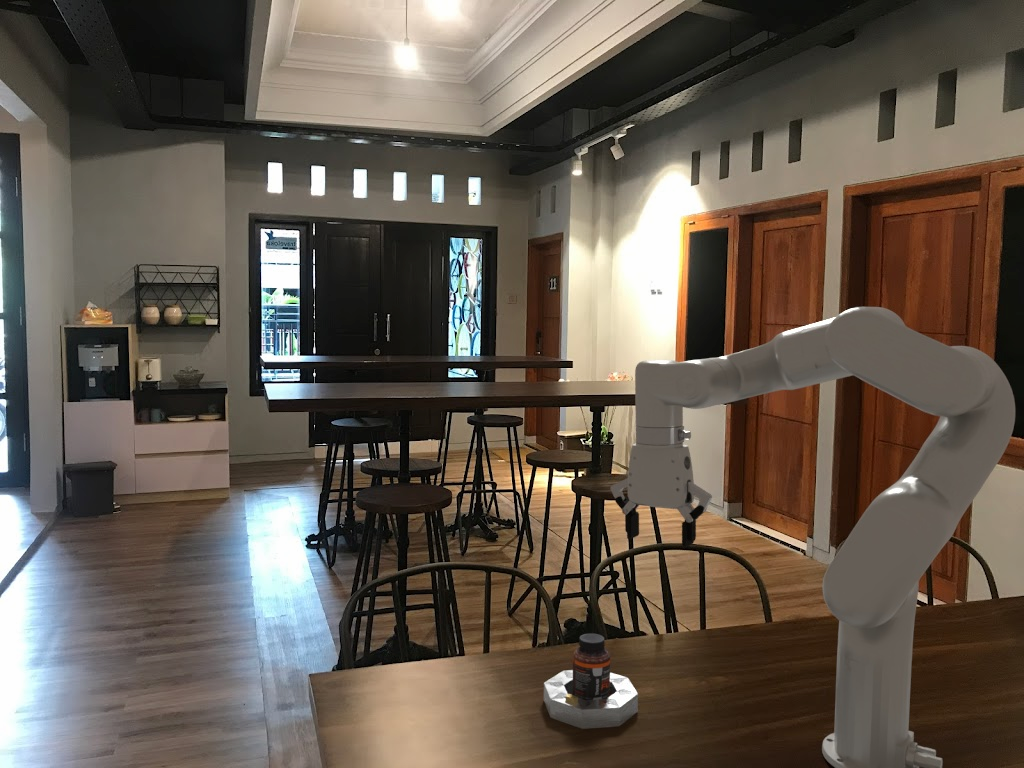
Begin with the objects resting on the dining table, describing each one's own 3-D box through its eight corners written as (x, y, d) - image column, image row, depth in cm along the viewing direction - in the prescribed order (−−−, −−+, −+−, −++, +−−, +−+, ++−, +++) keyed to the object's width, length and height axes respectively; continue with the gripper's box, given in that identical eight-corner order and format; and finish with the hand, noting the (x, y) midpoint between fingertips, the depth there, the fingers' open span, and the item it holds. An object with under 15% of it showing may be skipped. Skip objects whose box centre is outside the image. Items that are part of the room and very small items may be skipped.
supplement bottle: (607, 716, 130) (608, 646, 129) (569, 713, 131) (570, 643, 130) (611, 699, 136) (612, 632, 135) (574, 696, 137) (575, 629, 136)
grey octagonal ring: (649, 702, 135) (650, 680, 135) (605, 737, 124) (606, 713, 123) (576, 679, 143) (576, 658, 143) (528, 710, 132) (528, 687, 132)
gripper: (719, 437, 132) (719, 542, 133) (621, 431, 142) (622, 529, 143) (701, 442, 126) (701, 553, 127) (600, 436, 136) (601, 539, 137)
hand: (659, 541), depth 135 cm, fingers open, 9 cm apart
